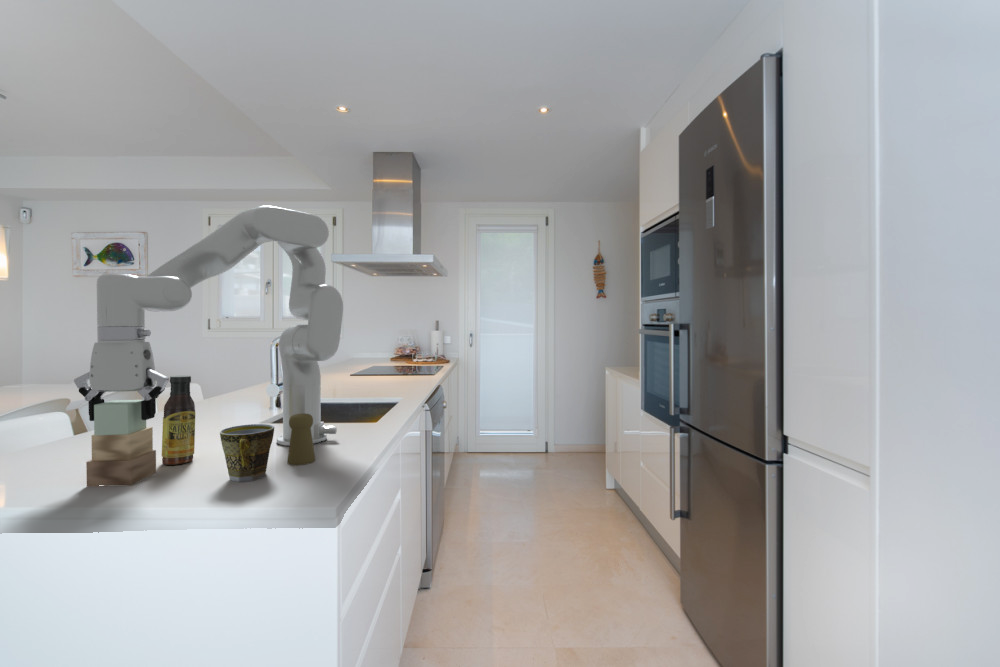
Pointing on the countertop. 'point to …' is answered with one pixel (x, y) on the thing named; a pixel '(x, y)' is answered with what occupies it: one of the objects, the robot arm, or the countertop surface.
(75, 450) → the countertop surface
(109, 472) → the walnut block
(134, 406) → the sage block
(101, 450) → the oak block
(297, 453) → the cork
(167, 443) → the sauce bottle
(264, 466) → the ceramic cup
